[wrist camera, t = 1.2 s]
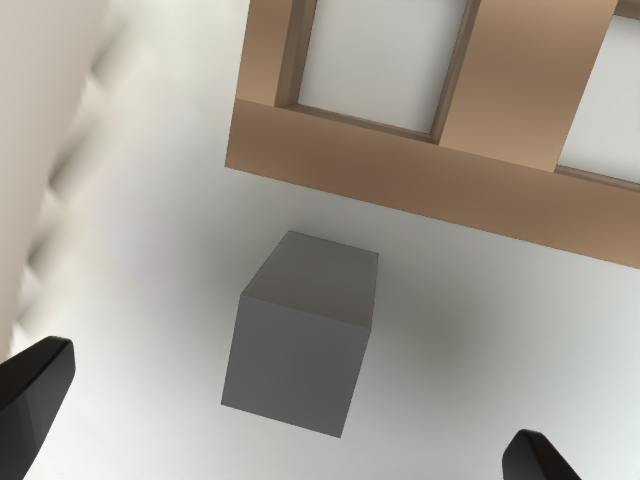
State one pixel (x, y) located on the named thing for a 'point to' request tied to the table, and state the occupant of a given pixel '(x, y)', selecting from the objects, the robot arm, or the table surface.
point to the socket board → (451, 127)
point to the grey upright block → (303, 334)
